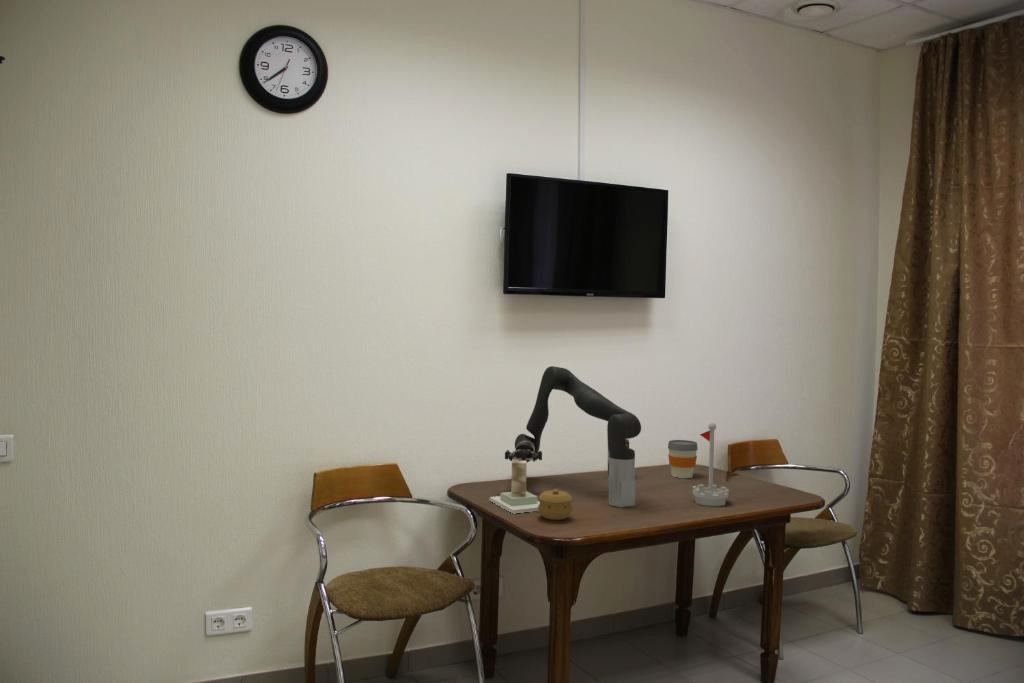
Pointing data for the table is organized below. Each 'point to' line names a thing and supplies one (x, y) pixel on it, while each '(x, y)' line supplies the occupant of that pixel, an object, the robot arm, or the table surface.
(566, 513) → the pot
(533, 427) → the robot arm
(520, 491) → the birch column
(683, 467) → the reusable coffee cup
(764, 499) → the table surface
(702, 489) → the flag stand
